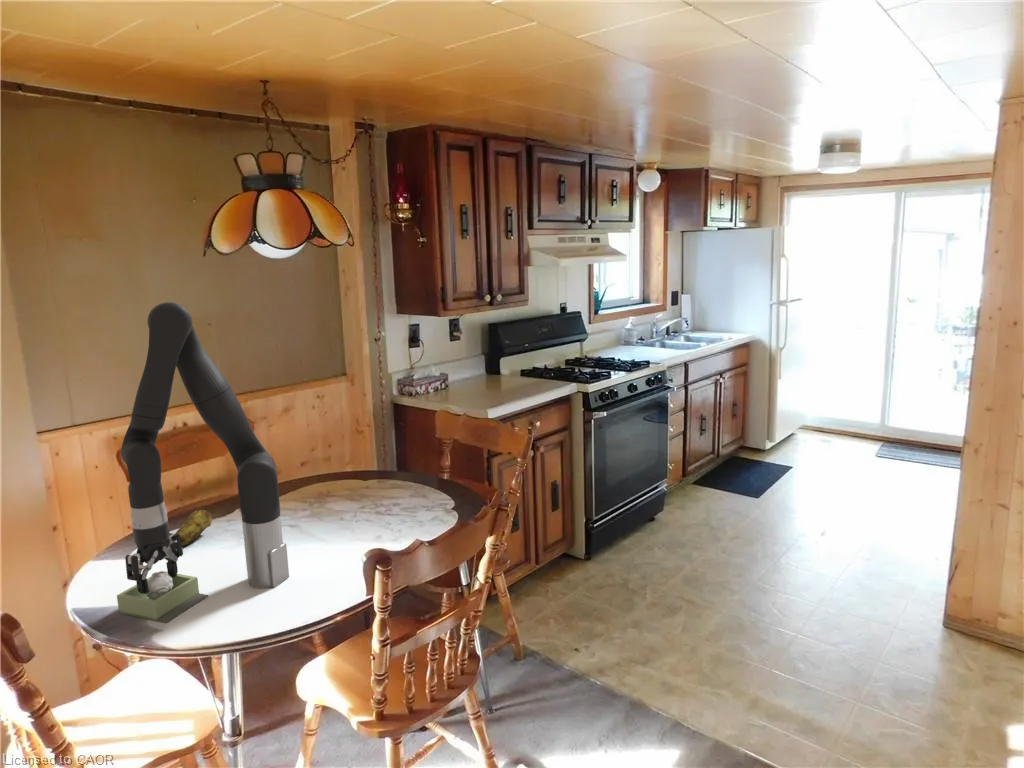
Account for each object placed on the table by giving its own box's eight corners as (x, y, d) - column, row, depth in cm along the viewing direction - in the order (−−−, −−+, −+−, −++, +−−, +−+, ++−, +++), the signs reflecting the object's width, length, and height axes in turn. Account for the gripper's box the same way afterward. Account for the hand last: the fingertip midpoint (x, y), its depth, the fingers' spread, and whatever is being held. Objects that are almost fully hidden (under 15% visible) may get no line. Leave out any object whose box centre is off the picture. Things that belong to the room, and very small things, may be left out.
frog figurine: (179, 593, 168) (176, 567, 167) (167, 607, 161) (163, 580, 160) (154, 594, 168) (151, 567, 167) (141, 608, 161) (137, 581, 160)
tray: (208, 596, 168) (206, 579, 167) (166, 623, 156) (164, 605, 155) (163, 587, 172) (161, 570, 172) (119, 613, 160) (116, 595, 160)
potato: (164, 544, 198) (161, 518, 197) (205, 529, 208) (203, 504, 207) (179, 551, 193) (176, 524, 192) (221, 535, 204) (218, 510, 202)
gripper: (136, 535, 152) (146, 601, 156) (185, 511, 166) (193, 573, 169) (111, 531, 155) (121, 596, 158) (161, 508, 168) (170, 569, 171)
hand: (158, 584), depth 163 cm, fingers open, 8 cm apart
